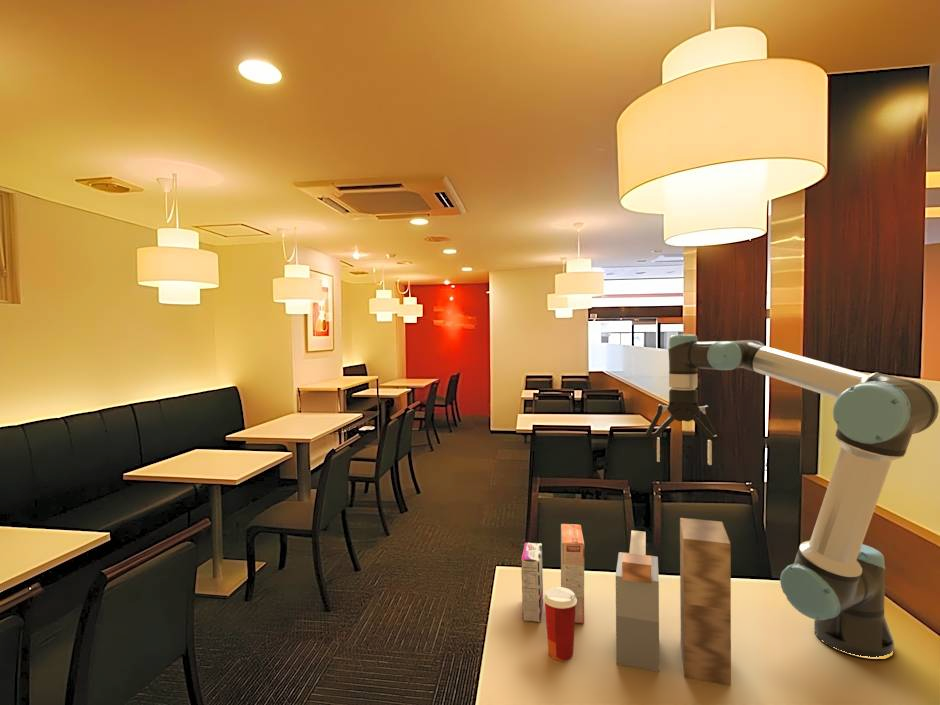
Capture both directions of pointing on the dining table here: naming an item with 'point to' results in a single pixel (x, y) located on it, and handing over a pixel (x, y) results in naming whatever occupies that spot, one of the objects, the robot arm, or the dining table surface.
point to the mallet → (637, 560)
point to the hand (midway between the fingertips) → (683, 462)
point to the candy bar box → (532, 582)
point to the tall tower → (705, 600)
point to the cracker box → (573, 565)
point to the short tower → (637, 620)
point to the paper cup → (560, 622)
